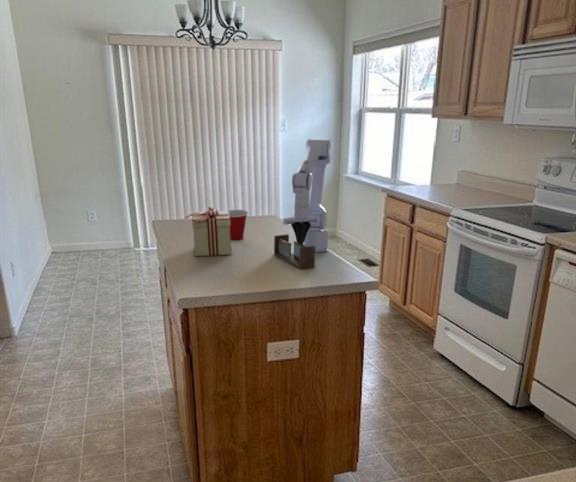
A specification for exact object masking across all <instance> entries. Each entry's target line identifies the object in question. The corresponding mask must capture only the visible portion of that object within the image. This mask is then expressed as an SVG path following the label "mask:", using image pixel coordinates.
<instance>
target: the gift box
mask: <svg viewBox="0 0 576 482" xmlns="http://www.w3.org/2000/svg"><path fill="white" fill-rule="evenodd" d="M228 211H229V210H222V211H221V210H220V211H218V209H216V208H213V207H211V206H208V210H206V211H193V212H192V213H189V214H188V215H186V216H185V217H184V219H188V218H190V217H191V216H192V217H191V225H192V229H193V244H194V257H202V256H203V257H207V256H208V257H209V256H210V257H211V256H231V255H232V245H231V239H230V215H229V212H228Z"/></svg>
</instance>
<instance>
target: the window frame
mask: <svg viewBox="0 0 576 482" xmlns="http://www.w3.org/2000/svg"><path fill="white" fill-rule="evenodd" d="M273 238H274V239H273V241H274V242H273V256H275V257H277V258H279V259H281V260H282V261H284V262H286V263H288V264H290V265H292V266H294V267H296V268H297V269H299V270H306V269H313V268H315V265H316V252H315V246H309V247H301V248H300V258H299V259H297V258H295V257H293V255H294V253H293V252H292V243H291V242H290V235H289V233H287V234H277V235H274V236H273Z"/></svg>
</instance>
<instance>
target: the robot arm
mask: <svg viewBox="0 0 576 482" xmlns="http://www.w3.org/2000/svg"><path fill="white" fill-rule="evenodd" d="M305 154H306V158H305V159H303V160H302V161H301V163H300V166H299V167H298V169H297V170H298V171H296V172H295V173H293V175H292V178H291V187H292V193H293V216H292V217H287V218H282V225H285V226H288V225H290V226H291V228H292V230H293V232H294V236H295V241H296V242H299V243H301V237H303V238H304V241H303V245H305V246H307V247H309V246H315V253H322V252H329V249H328V245H329V243H328V242H329V233H328V231H327V229H326V226H327V222H328V221H327V220H328V219H327V215H328V214H327V213H328V212H327V210H326V209H325V208H324V207H323V206H322V199H323V198H322V197H323V190H324V182H325V174H326V173H325V172H326V168H327V165H329V164H330V163H331V160H332V157H333V142H332V140H331V139H327V140H326V139H311V138H308V139H307V140H306V142H305Z"/></svg>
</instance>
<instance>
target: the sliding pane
mask: <svg viewBox="0 0 576 482" xmlns="http://www.w3.org/2000/svg"><path fill="white" fill-rule="evenodd" d="M303 241H304V238H303V237H301V243H299V242H297V241H296V240H293V254H294V255H293V257H295V258H297V259H299V258H300V248H301V247H307V246H305V245H304V242H303Z"/></svg>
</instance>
